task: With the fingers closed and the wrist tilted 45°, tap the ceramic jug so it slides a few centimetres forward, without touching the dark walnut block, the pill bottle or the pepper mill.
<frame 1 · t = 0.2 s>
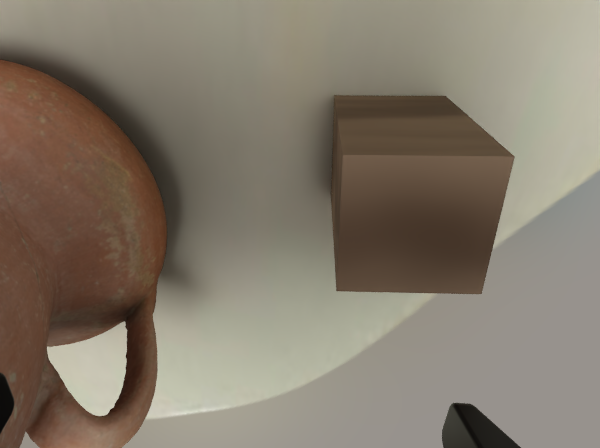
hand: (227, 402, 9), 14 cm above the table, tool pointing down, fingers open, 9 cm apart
ceramic jug: (56, 198, 23), on the table
walnut block: (384, 148, 21), on the table
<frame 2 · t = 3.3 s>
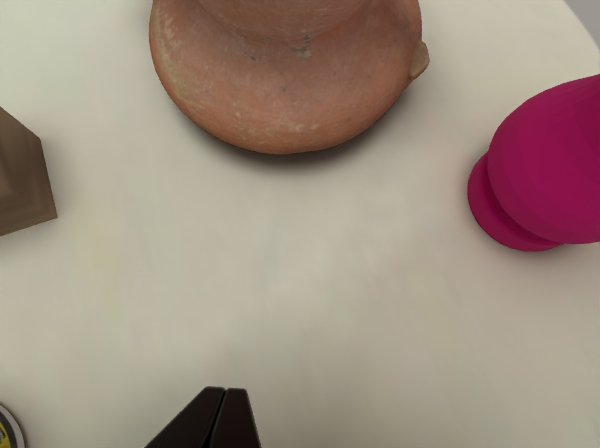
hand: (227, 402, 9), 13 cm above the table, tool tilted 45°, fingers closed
pepper mill: (521, 198, 25), on the table
ceramic jug: (276, 61, 27), on the table
walnut block: (3, 191, 24), on the table
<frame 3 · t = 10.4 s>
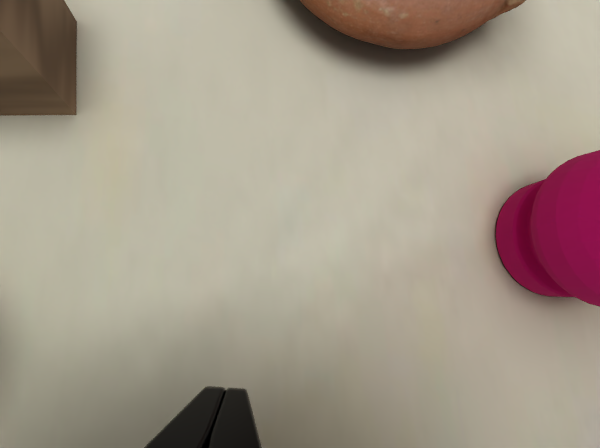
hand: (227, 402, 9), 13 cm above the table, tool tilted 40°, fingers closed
pepper mill: (544, 239, 25), on the table
walnut block: (22, 67, 22), on the table
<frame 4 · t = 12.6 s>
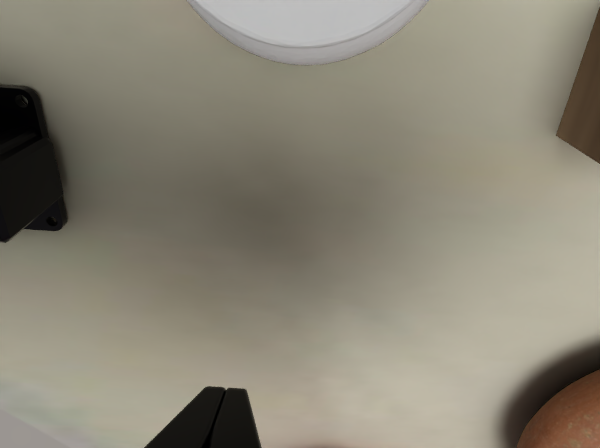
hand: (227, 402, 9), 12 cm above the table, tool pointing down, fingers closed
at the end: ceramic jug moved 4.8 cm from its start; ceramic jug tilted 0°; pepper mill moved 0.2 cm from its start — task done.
